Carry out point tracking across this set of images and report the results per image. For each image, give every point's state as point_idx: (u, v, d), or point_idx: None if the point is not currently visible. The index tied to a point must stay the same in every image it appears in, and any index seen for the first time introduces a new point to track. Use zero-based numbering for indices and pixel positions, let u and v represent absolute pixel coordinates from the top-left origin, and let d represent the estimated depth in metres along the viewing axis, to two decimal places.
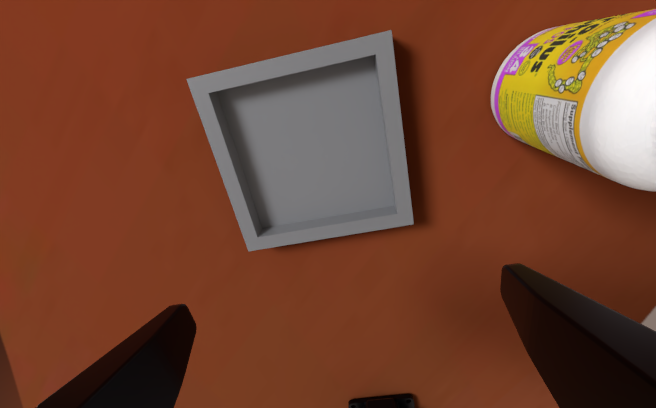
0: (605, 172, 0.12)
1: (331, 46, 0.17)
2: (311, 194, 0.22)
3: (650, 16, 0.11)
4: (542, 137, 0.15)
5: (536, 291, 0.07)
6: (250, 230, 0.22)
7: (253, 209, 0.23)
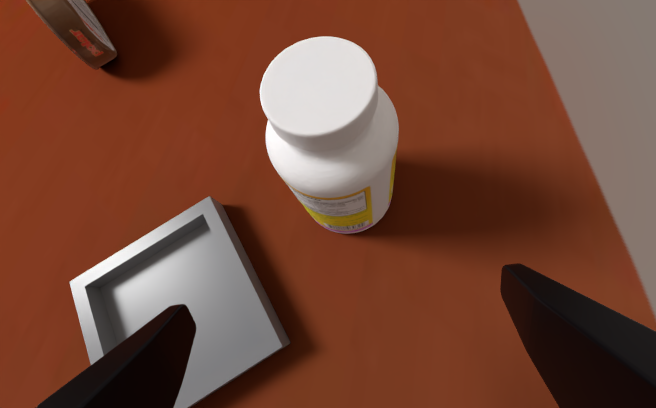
0: (307, 190, 0.15)
1: (171, 220, 0.23)
2: None
3: None
4: (306, 205, 0.18)
5: (536, 291, 0.07)
6: None
7: None
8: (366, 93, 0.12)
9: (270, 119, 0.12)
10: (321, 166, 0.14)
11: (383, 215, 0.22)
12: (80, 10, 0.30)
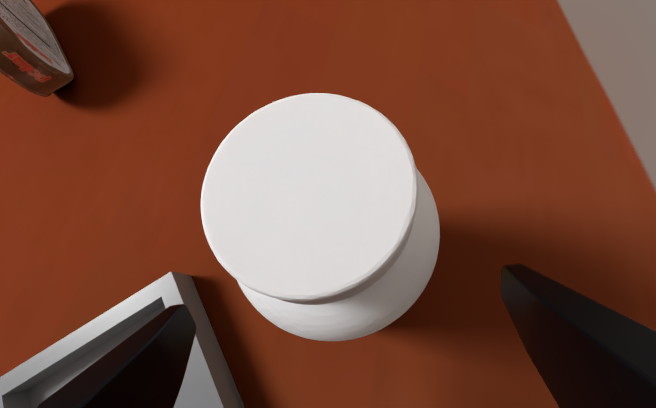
0: (292, 333, 0.09)
1: (120, 304, 0.18)
2: None
3: None
4: None
5: (536, 291, 0.07)
6: None
7: None
8: (398, 213, 0.06)
9: (216, 255, 0.06)
10: (314, 308, 0.08)
11: None
12: (25, 26, 0.24)
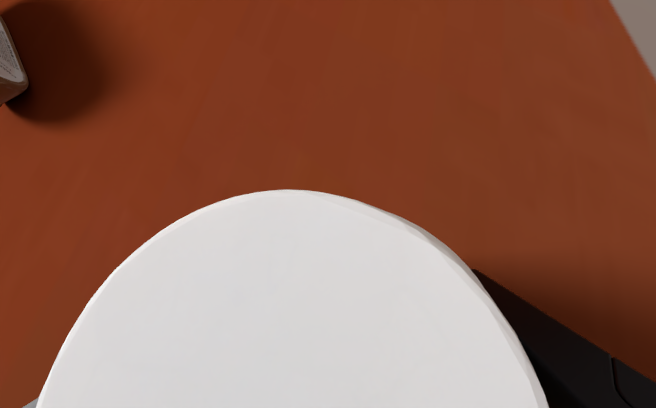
0: None
1: None
2: None
3: None
4: None
5: None
6: None
7: None
8: None
9: None
10: None
11: None
12: None
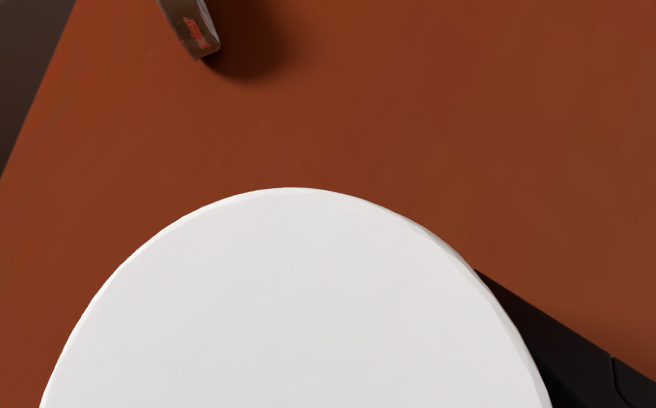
0: None
1: None
2: None
3: None
4: None
5: None
6: None
7: None
8: None
9: None
10: None
11: None
12: None
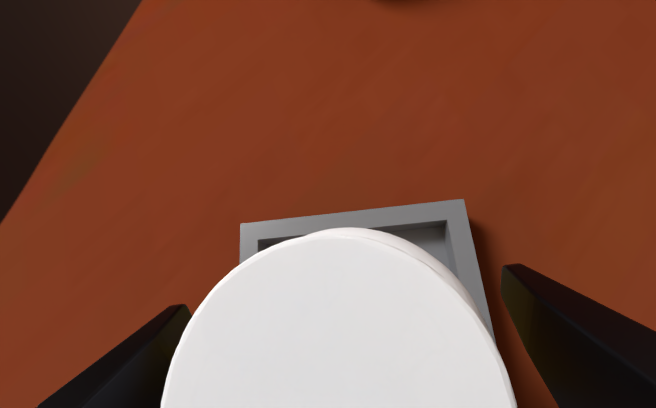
0: None
1: (397, 208, 0.16)
2: None
3: None
4: None
5: (536, 291, 0.07)
6: None
7: None
8: None
9: None
10: None
11: None
12: None
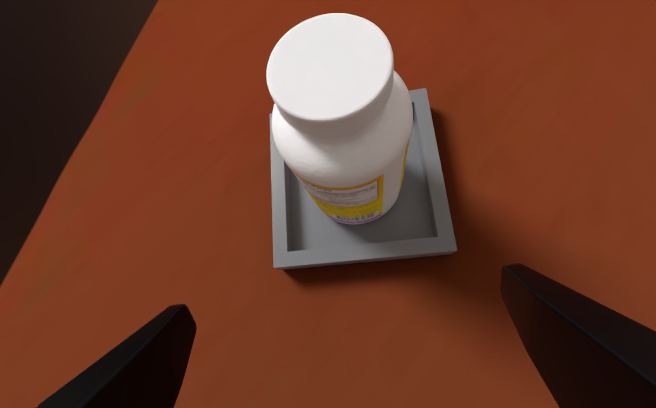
0: (317, 180, 0.14)
1: None
2: None
3: None
4: (314, 196, 0.17)
5: (536, 291, 0.07)
6: (282, 243, 0.22)
7: (289, 228, 0.23)
8: (382, 74, 0.11)
9: (279, 104, 0.11)
10: (332, 155, 0.13)
11: (392, 205, 0.22)
12: None
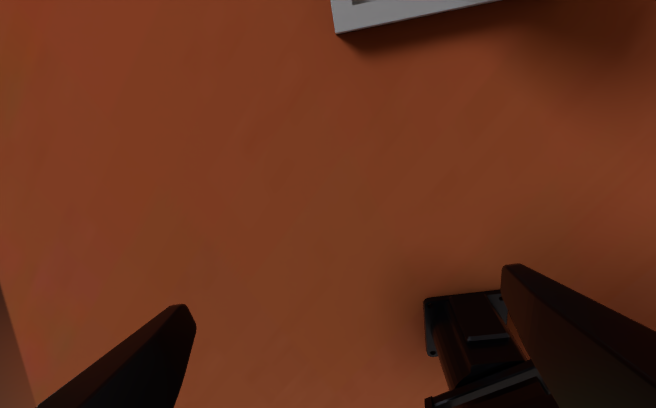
0: None
1: None
2: None
3: None
4: None
5: (536, 291, 0.07)
6: None
7: None
8: None
9: None
10: None
11: None
12: None
